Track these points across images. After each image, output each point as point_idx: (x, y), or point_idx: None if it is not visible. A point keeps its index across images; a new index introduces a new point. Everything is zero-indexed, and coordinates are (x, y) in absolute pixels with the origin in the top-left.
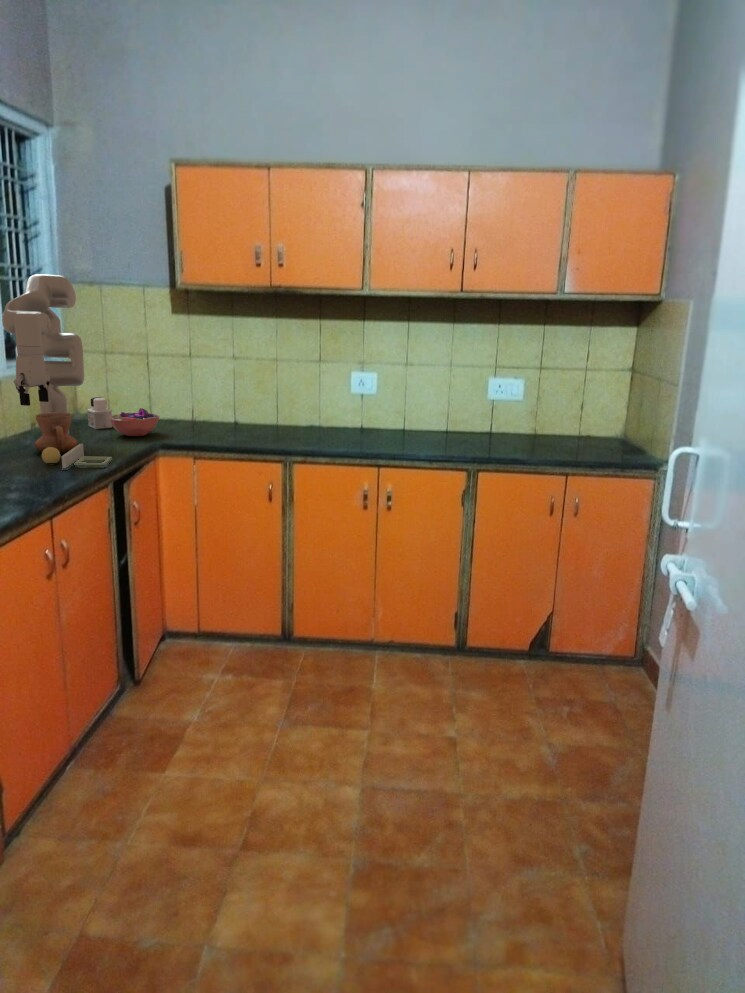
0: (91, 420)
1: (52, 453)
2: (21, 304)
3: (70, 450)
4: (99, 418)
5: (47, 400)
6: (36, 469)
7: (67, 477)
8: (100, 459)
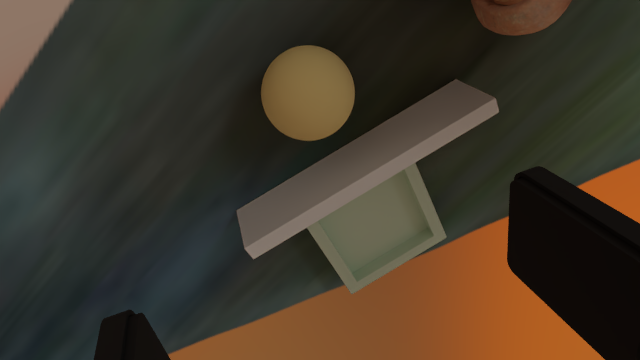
0: None
1: (291, 136)
2: None
3: (358, 182)
4: None
5: (523, 274)
6: (183, 107)
7: (177, 294)
8: (420, 209)
